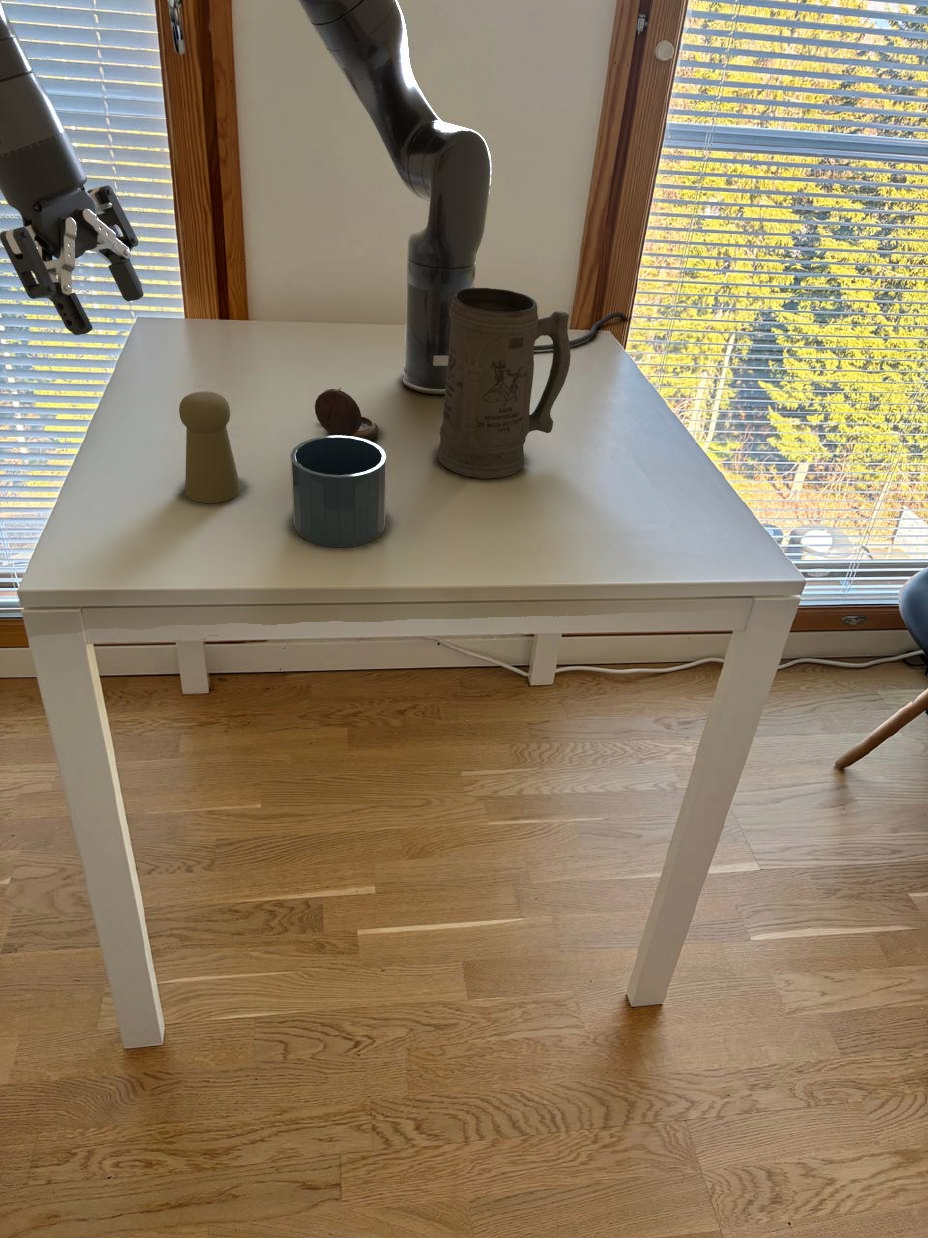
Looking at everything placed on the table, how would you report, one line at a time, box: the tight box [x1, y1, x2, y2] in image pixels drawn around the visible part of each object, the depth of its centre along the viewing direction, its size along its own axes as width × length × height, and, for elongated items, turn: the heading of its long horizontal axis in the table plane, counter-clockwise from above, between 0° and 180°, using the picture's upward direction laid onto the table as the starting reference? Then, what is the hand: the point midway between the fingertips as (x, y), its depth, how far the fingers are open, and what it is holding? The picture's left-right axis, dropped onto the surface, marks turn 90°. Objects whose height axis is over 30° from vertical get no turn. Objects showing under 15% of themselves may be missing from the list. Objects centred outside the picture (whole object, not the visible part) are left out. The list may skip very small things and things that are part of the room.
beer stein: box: [437, 287, 572, 479], centre depth 107 cm, size 15×11×20 cm
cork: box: [178, 391, 242, 504], centre depth 97 cm, size 6×6×11 cm
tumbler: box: [289, 435, 388, 548], centre depth 94 cm, size 10×10×8 cm
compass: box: [314, 387, 379, 441], centre depth 113 cm, size 8×8×7 cm
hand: (110, 315), depth 90 cm, fingers open, 8 cm apart
